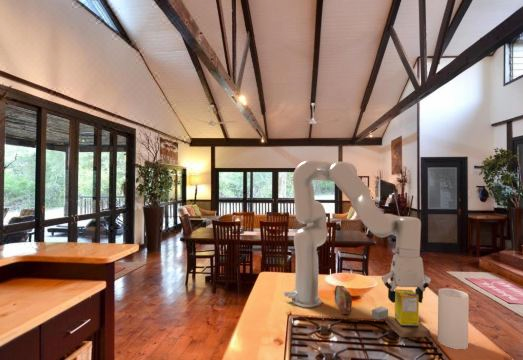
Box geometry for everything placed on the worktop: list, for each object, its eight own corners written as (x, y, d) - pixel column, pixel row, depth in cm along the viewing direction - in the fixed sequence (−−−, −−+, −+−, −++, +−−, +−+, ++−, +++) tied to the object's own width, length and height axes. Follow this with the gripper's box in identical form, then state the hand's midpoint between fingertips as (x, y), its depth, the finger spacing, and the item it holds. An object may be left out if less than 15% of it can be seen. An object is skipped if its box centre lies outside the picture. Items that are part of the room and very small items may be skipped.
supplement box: (411, 319, 108) (411, 289, 108) (418, 328, 102) (419, 295, 102) (394, 319, 109) (394, 288, 109) (400, 327, 103) (401, 295, 103)
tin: (333, 302, 129) (334, 282, 129) (341, 302, 129) (341, 282, 129) (344, 318, 114) (345, 295, 114) (353, 318, 114) (353, 295, 114)
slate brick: (378, 320, 112) (378, 312, 112) (371, 317, 115) (371, 309, 115) (388, 316, 116) (388, 308, 116) (381, 313, 118) (381, 306, 118)
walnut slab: (400, 337, 100) (400, 331, 100) (386, 322, 110) (386, 317, 110) (429, 336, 101) (429, 330, 101) (412, 322, 111) (412, 316, 111)
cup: (434, 334, 102) (435, 287, 102) (462, 338, 100) (463, 289, 100) (441, 347, 94) (442, 295, 94) (472, 351, 92) (472, 299, 92)
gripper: (388, 255, 101) (386, 305, 102) (438, 255, 102) (435, 306, 103) (378, 249, 109) (376, 296, 109) (424, 250, 110) (422, 297, 110)
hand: (405, 301), depth 106 cm, fingers open, 9 cm apart
